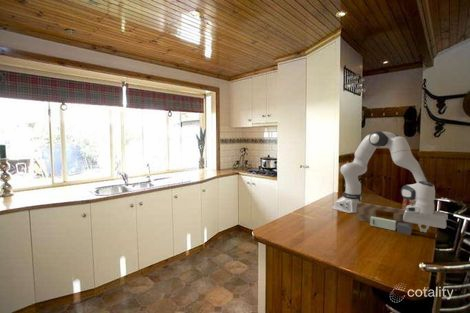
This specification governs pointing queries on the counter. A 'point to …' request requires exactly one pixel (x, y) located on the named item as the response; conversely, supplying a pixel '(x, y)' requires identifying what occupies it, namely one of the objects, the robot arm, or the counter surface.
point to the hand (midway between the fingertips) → (423, 231)
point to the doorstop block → (404, 228)
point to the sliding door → (383, 223)
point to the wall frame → (370, 210)
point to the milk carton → (407, 203)
